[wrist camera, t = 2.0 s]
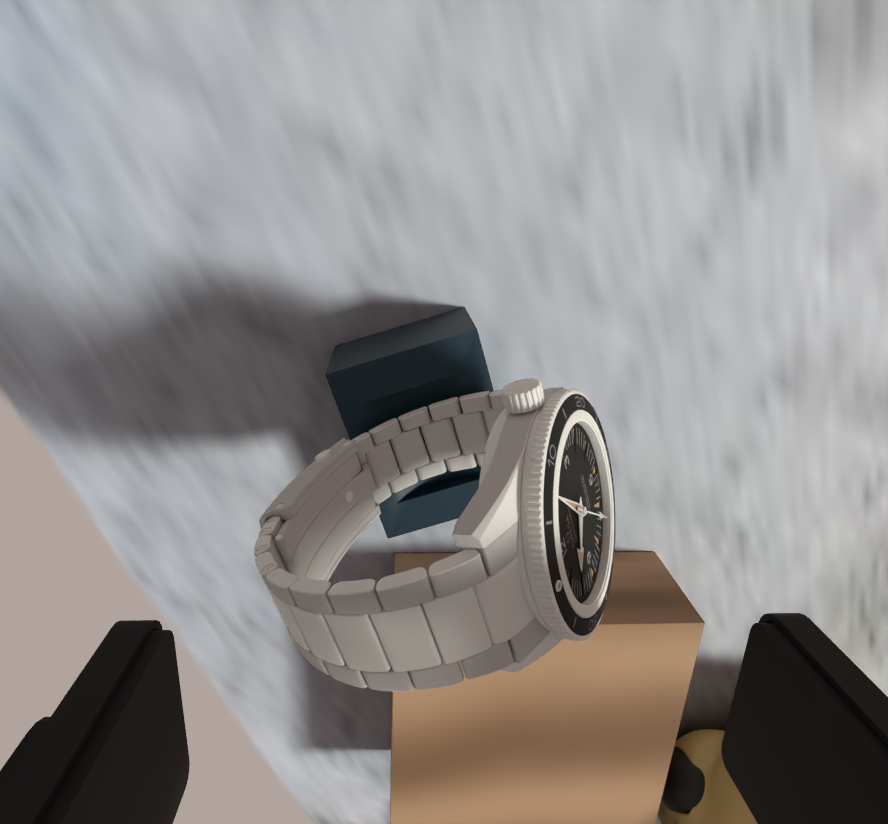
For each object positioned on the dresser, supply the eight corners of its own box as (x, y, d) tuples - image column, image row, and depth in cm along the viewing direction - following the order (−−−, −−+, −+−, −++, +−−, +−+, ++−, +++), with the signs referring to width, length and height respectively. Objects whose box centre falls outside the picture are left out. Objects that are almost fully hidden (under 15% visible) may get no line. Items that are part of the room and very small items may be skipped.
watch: (559, 440, 21) (715, 683, 11) (341, 503, 21) (291, 800, 11) (522, 286, 19) (672, 405, 9) (283, 359, 19) (153, 557, 9)
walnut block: (394, 553, 22) (394, 628, 18) (654, 551, 23) (704, 622, 19) (390, 750, 26) (390, 847, 22) (616, 743, 26) (652, 834, 23)
